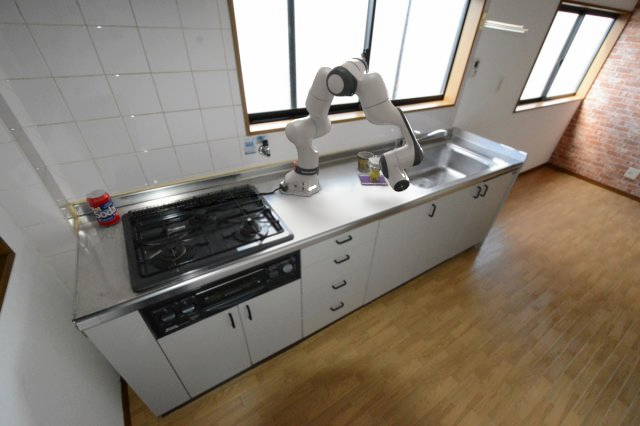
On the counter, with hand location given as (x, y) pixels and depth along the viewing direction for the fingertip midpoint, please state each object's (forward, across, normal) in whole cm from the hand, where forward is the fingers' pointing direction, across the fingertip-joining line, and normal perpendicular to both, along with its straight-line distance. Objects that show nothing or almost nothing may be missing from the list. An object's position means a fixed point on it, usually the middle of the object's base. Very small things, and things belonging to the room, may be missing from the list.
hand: (384, 156), depth 141 cm
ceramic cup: (+27, -2, -21) cm, 34 cm away
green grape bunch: (+12, 0, -20) cm, 23 cm away
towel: (+12, 0, -21) cm, 24 cm away
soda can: (-29, -128, -22) cm, 133 cm away
